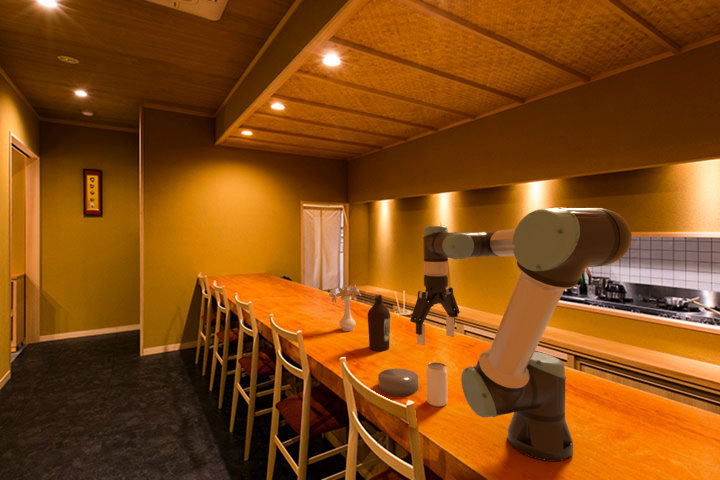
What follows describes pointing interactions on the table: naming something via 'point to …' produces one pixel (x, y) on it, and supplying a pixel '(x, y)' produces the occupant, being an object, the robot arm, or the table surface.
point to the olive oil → (379, 326)
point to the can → (437, 384)
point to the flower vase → (346, 305)
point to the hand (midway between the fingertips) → (436, 340)
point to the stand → (398, 382)
